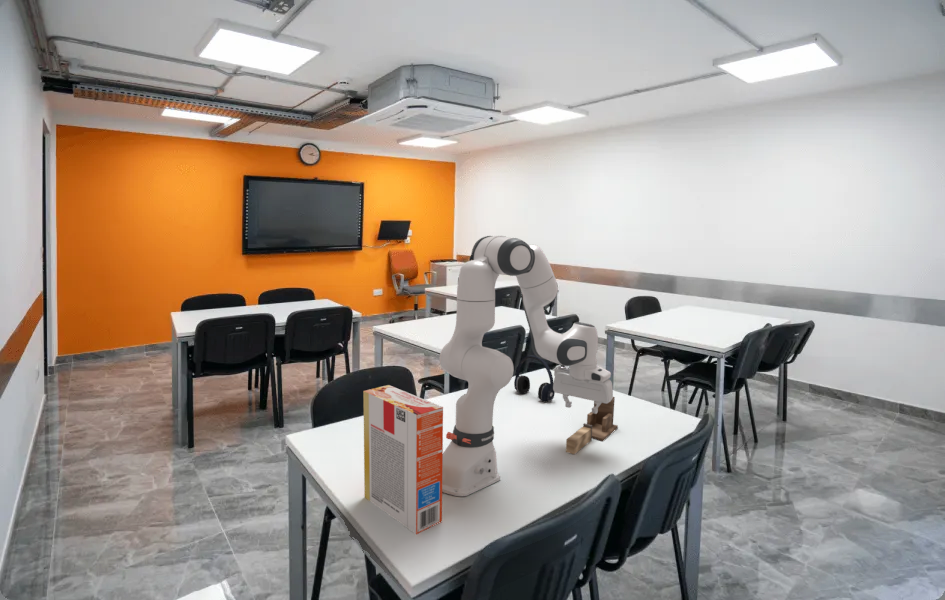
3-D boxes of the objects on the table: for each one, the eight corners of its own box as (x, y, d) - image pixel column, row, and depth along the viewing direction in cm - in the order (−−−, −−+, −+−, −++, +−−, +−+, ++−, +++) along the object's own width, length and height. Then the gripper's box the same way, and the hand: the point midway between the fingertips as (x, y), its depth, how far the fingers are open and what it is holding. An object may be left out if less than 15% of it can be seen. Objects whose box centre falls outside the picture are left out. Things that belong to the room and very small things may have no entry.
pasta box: (441, 521, 130) (443, 407, 126) (416, 534, 125) (416, 414, 121) (389, 487, 147) (388, 384, 143) (364, 497, 141) (363, 390, 137)
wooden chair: (602, 441, 181) (604, 408, 180) (576, 434, 187) (577, 402, 185) (617, 428, 194) (619, 397, 192) (592, 421, 199) (593, 391, 197)
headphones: (511, 393, 232) (512, 353, 230) (521, 389, 237) (523, 350, 234) (546, 404, 217) (547, 362, 215) (556, 401, 222) (558, 359, 220)
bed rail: (574, 454, 170) (575, 438, 170) (565, 452, 172) (566, 436, 171) (591, 440, 182) (592, 425, 181) (583, 438, 184) (584, 423, 183)
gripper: (550, 367, 176) (549, 406, 179) (608, 378, 165) (606, 419, 167) (558, 363, 182) (557, 401, 184) (615, 373, 170) (613, 413, 172)
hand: (581, 410), depth 175 cm, fingers open, 8 cm apart
